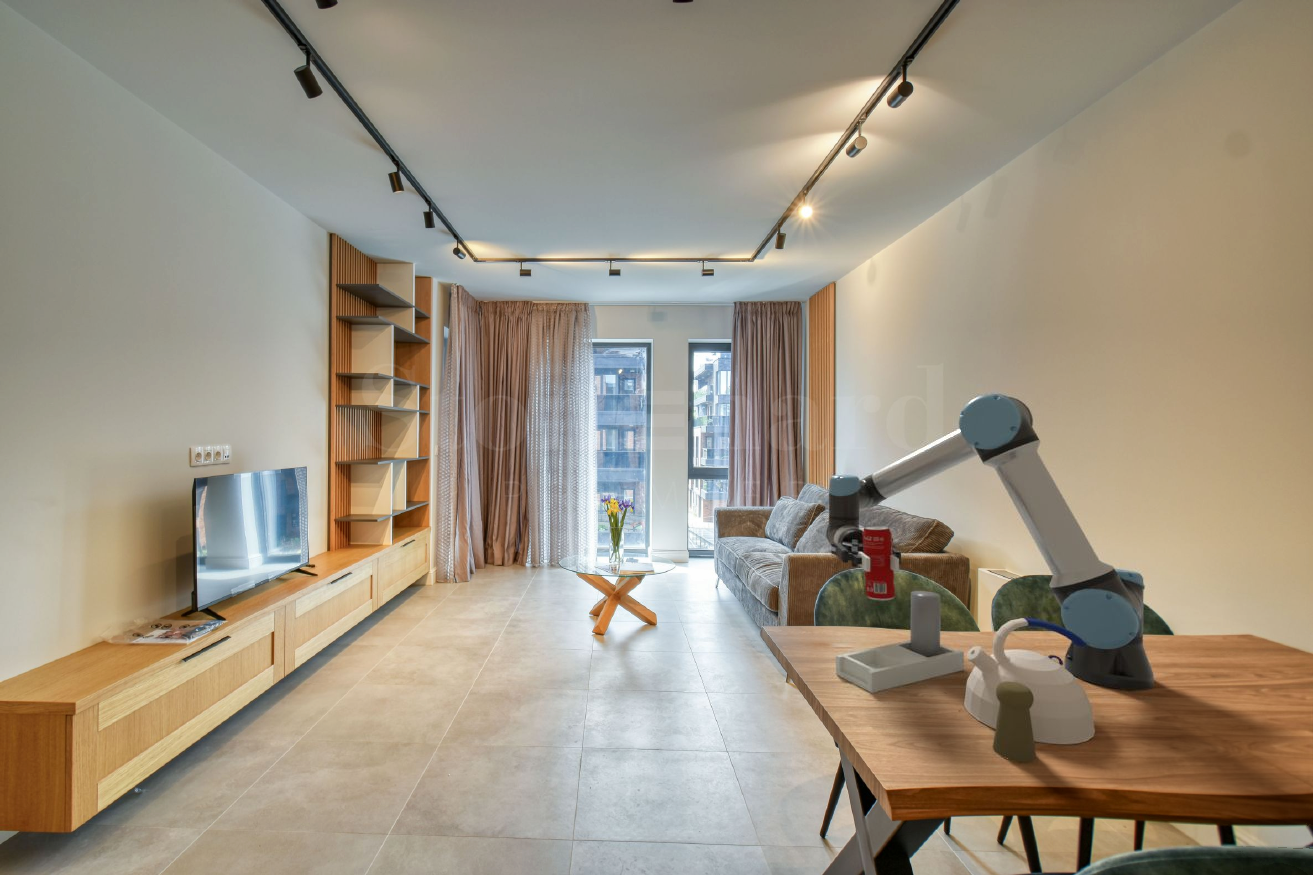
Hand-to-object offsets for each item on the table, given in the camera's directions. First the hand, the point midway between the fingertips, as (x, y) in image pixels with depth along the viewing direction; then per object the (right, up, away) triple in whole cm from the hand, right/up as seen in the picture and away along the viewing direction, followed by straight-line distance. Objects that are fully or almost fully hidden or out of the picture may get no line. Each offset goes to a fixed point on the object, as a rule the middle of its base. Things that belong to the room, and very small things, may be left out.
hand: (882, 565), depth 119 cm
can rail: (+7, -25, +9) cm, 27 cm away
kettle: (+22, -26, -11) cm, 35 cm away
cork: (+12, -25, -23) cm, 37 cm away
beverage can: (+1, -8, +5) cm, 10 cm away
